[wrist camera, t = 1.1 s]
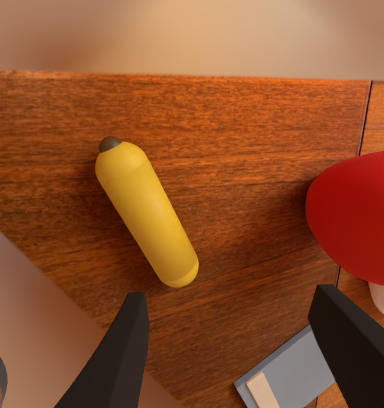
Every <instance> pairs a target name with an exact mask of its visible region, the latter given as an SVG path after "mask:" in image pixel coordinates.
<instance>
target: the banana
mask: <svg viewBox="0 0 384 408" xmlns="http://www.w3.org/2000/svg"><path fill="white" fill-rule="evenodd" d="M99 151H100V154H99V155H98V157H97V160H96V164H95V172H96V176H97V178H98V180H99V182H100V184H101V185H102V187H103V189H104V190H105V192H106V194H107V195H108V197H109V198H110V200H111V202H112V203H113V205H114V206H115V208H116V210H117V211H118V213H119V214H120V216H121V218H122V219H123V221H124V223H125V224H126V226H127V227H128V229H129V231H130V232H131V234H132V235H133V237H134V239H135V240H136V242H137V244H138V245H139V247H140V248H141V250H142V252H143V253H144V255H145V256H146V258H147V260H148V261H149V263H150V264H151V266H152V268H153V269H154V271H155V273H156V274H157V276H158V277H159V279H160V280H161V281H162V282H163V283H164V284H166V285H168V286H170V287H188V286H189V285H191V283H192V282H193V279H194V278H195V276H196V274H197V272H198V267H199V263H198V258H197V255H196V253H195V251H194V249H193V247H192V245H191V243H190V241H189V239H188V237H187V235H186V233H185V231H184V229H183V227H182V225H181V223H180V221H179V219H178V217H177V215H176V213H175V211H174V209H173V207H172V205H171V203H170V201H169V199H168V197H167V195H166V194H165V192H164V190H163V188H162V186H161V184H160V182H159V180H158V178H157V176H156V174H155V172H154V170H153V168H152V166H151V164H150V162H149V160H148V158H147V156H146V155H145V153H144V152H143V151H142V150H141V149H140V148H139V147H137V146H136V145H134V144H131V143H127V142H122V141H121V140H120V139H119V138H117V137H114V136H109V137H106V138H104V139H103V140H102V141H101V143H100V145H99Z"/></svg>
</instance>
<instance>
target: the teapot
mask: <svg viewBox="0 0 384 408" xmlns="http://www.w3.org/2000/svg"><path fill="white" fill-rule="evenodd" d="M368 284H369V288H370V292H371V296H372V299H373V301H374V304H375V305H376V307H377V308H378V309H379V310H380V312H381V313H382V314H384V286H381V285H377V284H374V283H371V282H368Z"/></svg>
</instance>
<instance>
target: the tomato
mask: <svg viewBox="0 0 384 408" xmlns="http://www.w3.org/2000/svg"><path fill="white" fill-rule="evenodd" d="M305 210H306V218H307V223H308V225H309V228H310V230H311V232H312V233H313V235H314V237H315V238H316V240H317V242H318V243H319V244H320V246H321V247H322V248H323V249H324V251H325V252H326V253H327V254H328V255H329V256H330V257H331V258H332V259H333V260H334V261H335V262H336V263H337V264H339V265H340V266H341V267H342V268H343V269H345V270H346V271H348V272H349V273H351V274H353V275H354V276H356V277H357V278H360V279H363V280H366V281H368V282H371V283H374V284H377V285H381V286H384V151H381V152H375V153H369V154H365V155H362V156H358V157H355V158H351V159H348V160H344V161H342V162H340V163H338V164H335V165H333V166H331V167H329V168H327V169H326V170H324V171H323V172H322V173H320V174H319V175H318V176H317V177H316V178H315V179H314V180H313V182H312V183H311V185H310V186H309V189H308V192H307V196H306V205H305Z"/></svg>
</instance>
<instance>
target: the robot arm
mask: <svg viewBox="0 0 384 408" xmlns="http://www.w3.org/2000/svg"><path fill="white" fill-rule="evenodd" d="M308 320H309V323H310V326H311V329H312V331H313V334H314V337H315V339H316V342H317V344H318V346H319V348H320V350H321V352H322V355H323V357H324V359H325V361H326V363H327V365H328V367H329V369H330V371H331V373H332V375H333V377H334V379H335V381H336V383H337V385H338V387H339V389H340V391H341V393H342V395H343V397H344V399H345V401H346V403H347V405H348V407H349V408H384V328H383V327H382V326H381V325H379V324H378V323H377V322H376V321H375V320H373V319H372V318H371V317H370V316H369V315H367V314H366V313H365V312H364V311H363V310H362V309H360V308H359V307H358V306H357V305H356V304H355V303H353V302H352V301H351V300H350V299H349V298H348V297H347V296H345V295H344V294H343V293H342V292H341V291H340V290H338V289H337V288H336V287H335V286H334V285H332V284H320V285H317V287H316V291H315V294H314V297H313V301H312V304H311V307H310V311H309V314H308ZM148 338H149V318H148V312H147V305H146V299H145V293H144V292H131V293H129V294H127V296H126V298H125V300H124V302H123V304H122V306H121V308H120V310H119V312H118V314H117V315H116V317H115V319H114V321H113V322H112V324H111V326H110V328H109V329H108V331H107V333H106V334H105V336H104V337H103V339H102V341H101V342H100V344H99V346H98V347H97V349H96V350H95V352H94V353H93V355H92V356H91V358H90V359H89V361H88V362H87V364H86V365H85V367H84V368H83V369H82V371H81V372H80V374H79V375H78V377H77V378H76V379H75V381H74V382H73V383H72V385H71V386H70V387H69V389H68V390H67V391H66V393H65V394H64V395H63V397H62V398H61V399H60V400H59V402H58V403H57V404H56V405H55V407H54V408H137V406H138V400H139V395H140V389H141V383H142V378H143V373H144V367H145V361H146V356H147V349H148Z"/></svg>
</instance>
